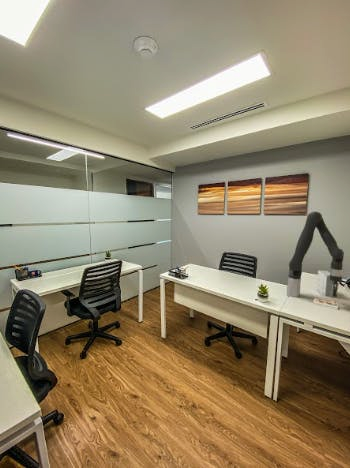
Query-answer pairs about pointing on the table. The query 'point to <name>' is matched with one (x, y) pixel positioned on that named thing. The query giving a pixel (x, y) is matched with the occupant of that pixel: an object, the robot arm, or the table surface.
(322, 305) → the power strip
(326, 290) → the hard drive box
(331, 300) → the button
